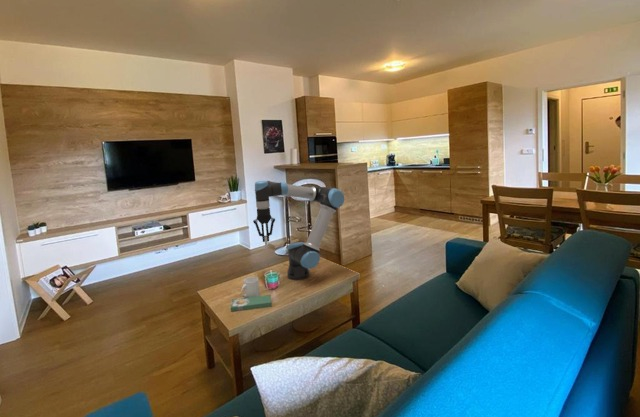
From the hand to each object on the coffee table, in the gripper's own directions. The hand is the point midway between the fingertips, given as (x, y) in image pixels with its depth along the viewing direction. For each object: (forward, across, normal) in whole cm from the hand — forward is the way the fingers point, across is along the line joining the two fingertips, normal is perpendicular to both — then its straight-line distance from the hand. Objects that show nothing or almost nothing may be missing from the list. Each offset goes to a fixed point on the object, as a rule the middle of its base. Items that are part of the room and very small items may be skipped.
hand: (266, 246), depth 200 cm
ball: (+28, +16, +13) cm, 35 cm away
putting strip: (+29, +11, +13) cm, 34 cm away
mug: (+30, +12, +3) cm, 32 cm away
